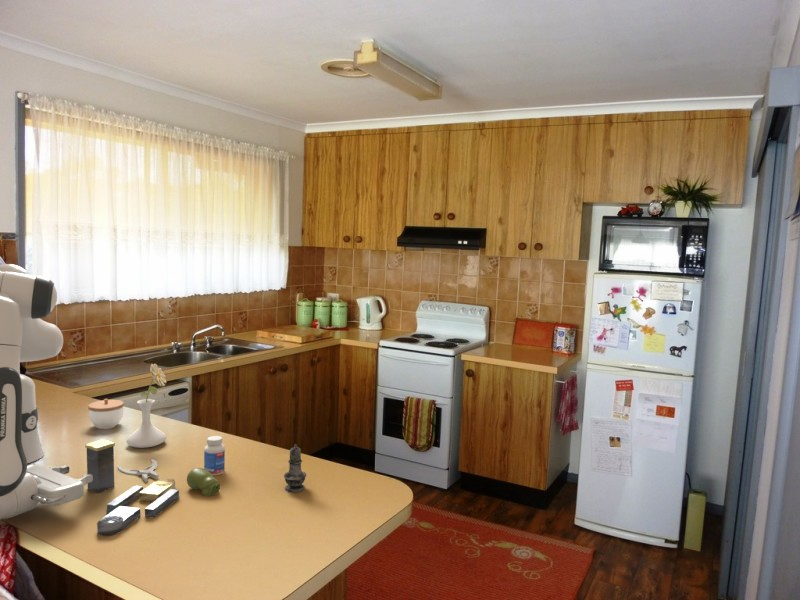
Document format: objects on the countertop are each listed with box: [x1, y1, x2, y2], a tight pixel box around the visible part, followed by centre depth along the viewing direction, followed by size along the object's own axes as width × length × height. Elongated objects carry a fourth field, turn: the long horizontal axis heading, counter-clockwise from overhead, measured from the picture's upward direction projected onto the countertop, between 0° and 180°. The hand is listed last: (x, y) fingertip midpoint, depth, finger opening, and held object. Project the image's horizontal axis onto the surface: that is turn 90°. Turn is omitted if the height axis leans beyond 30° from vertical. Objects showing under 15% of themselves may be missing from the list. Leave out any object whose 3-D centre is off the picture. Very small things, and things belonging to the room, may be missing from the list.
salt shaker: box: [283, 443, 307, 494], centre depth 153 cm, size 6×6×12 cm
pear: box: [186, 467, 221, 497], centre depth 150 cm, size 6×5×10 cm
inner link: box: [138, 477, 176, 503], centre depth 148 cm, size 10×5×2 cm, turn 171°
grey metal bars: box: [96, 485, 180, 537], centre depth 137 cm, size 21×12×2 cm, turn 171°
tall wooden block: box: [84, 438, 116, 494], centre depth 150 cm, size 5×5×12 cm
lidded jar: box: [87, 398, 125, 430], centre depth 198 cm, size 11×11×9 cm
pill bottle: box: [203, 435, 226, 477], centre depth 162 cm, size 6×5×10 cm
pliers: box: [117, 458, 159, 483], centre depth 161 cm, size 10×2×15 cm
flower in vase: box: [126, 363, 167, 449], centre depth 181 cm, size 13×11×25 cm
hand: (79, 472), depth 145 cm, fingers open, 8 cm apart
